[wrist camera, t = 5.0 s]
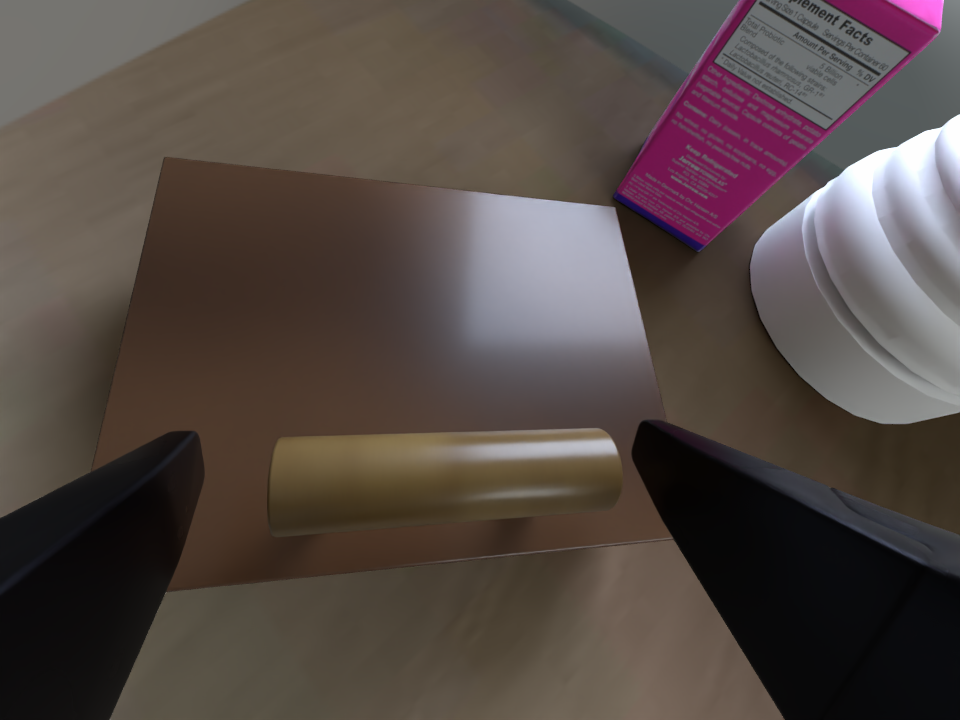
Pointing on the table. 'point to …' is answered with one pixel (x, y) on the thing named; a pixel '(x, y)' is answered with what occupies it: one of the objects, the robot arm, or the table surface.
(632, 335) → the lid
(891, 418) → the honey pot
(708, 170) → the supplement box
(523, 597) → the table surface
